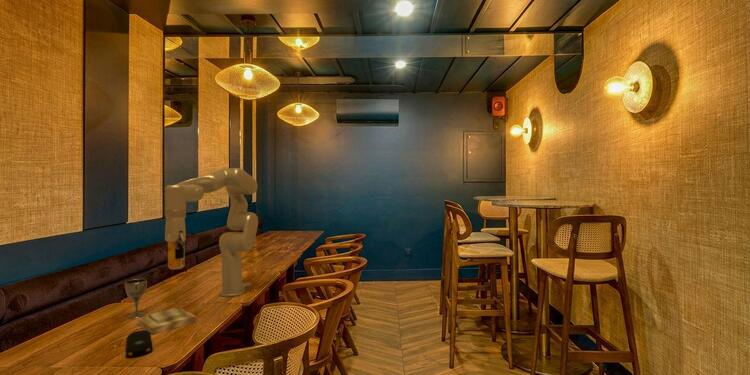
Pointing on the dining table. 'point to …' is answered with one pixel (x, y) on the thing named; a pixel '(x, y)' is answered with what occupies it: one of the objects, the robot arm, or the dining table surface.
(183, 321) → the riser
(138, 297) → the wine glass
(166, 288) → the dining table surface
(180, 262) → the glass of juice
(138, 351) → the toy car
